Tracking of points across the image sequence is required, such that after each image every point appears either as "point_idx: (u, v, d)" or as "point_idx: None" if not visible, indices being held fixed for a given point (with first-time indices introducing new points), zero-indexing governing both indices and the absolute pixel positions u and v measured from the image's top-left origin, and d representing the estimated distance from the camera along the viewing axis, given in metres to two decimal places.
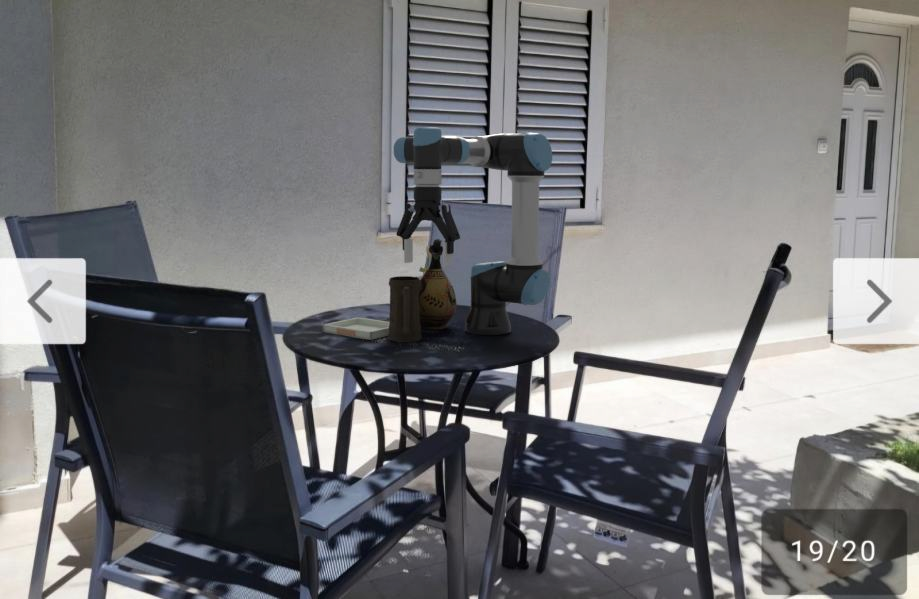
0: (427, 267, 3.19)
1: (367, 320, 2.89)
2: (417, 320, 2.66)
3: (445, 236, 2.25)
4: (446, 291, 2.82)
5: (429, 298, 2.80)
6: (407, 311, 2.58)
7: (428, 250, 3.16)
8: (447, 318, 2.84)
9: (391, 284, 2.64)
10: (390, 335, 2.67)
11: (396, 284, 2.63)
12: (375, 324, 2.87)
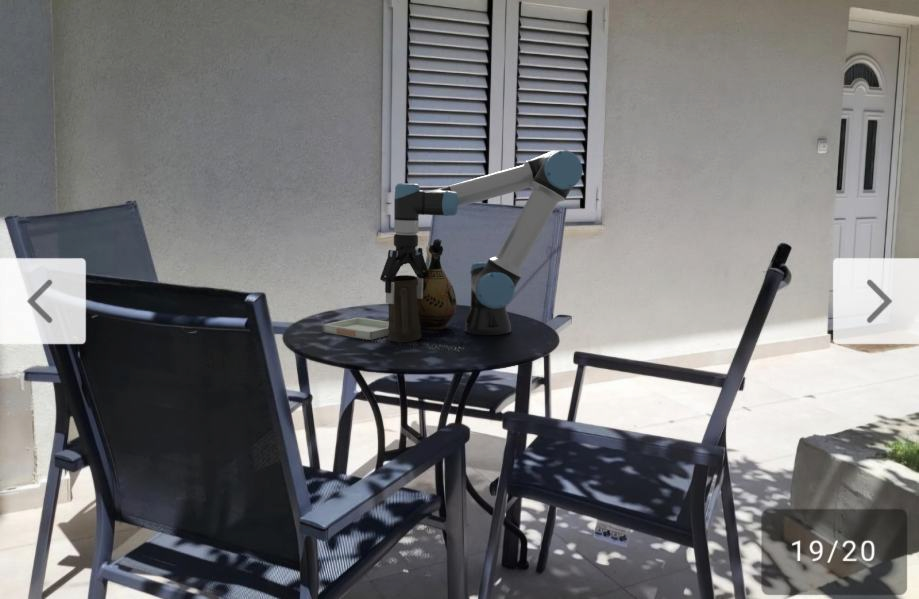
0: (427, 267, 3.19)
1: (367, 320, 2.89)
2: (416, 319, 2.66)
3: None
4: (446, 291, 2.82)
5: (429, 298, 2.80)
6: (405, 312, 2.58)
7: (428, 250, 3.16)
8: (447, 318, 2.84)
9: None
10: (390, 335, 2.67)
11: None
12: (375, 324, 2.87)
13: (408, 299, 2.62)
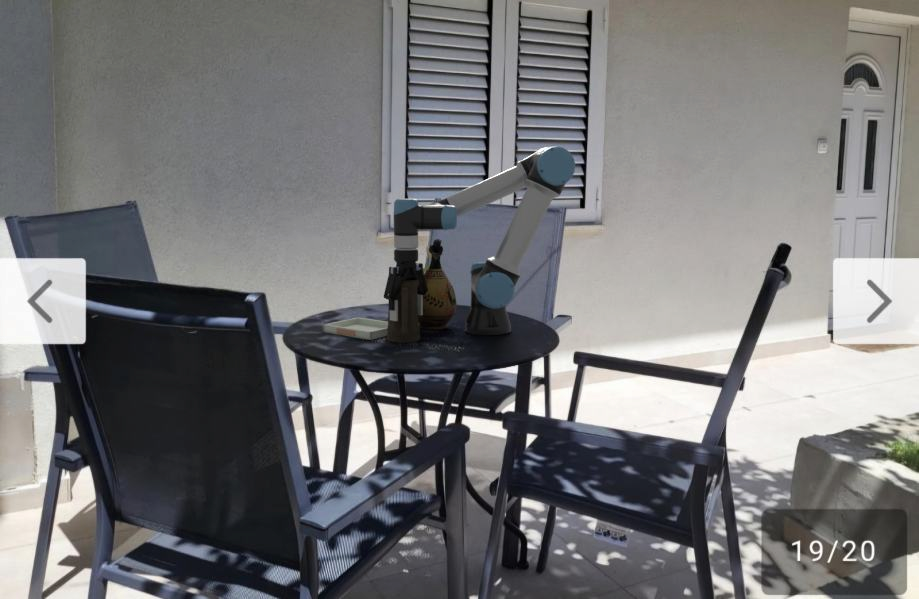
0: (427, 267, 3.19)
1: (367, 320, 2.89)
2: (416, 320, 2.66)
3: None
4: (446, 291, 2.82)
5: (429, 298, 2.80)
6: (405, 311, 2.58)
7: (428, 250, 3.16)
8: (447, 318, 2.84)
9: None
10: (388, 335, 2.66)
11: None
12: (375, 324, 2.87)
13: (408, 299, 2.62)
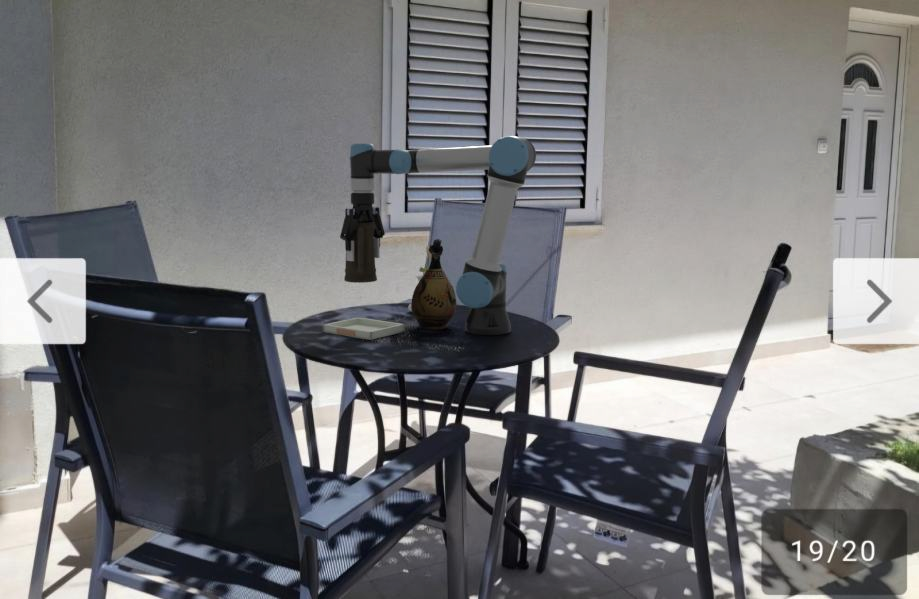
0: (427, 267, 3.19)
1: (367, 320, 2.89)
2: (372, 262, 2.76)
3: None
4: (446, 291, 2.82)
5: (429, 298, 2.80)
6: (361, 251, 2.68)
7: (428, 250, 3.16)
8: (447, 318, 2.84)
9: None
10: (346, 276, 2.76)
11: None
12: (375, 324, 2.87)
13: (365, 240, 2.73)
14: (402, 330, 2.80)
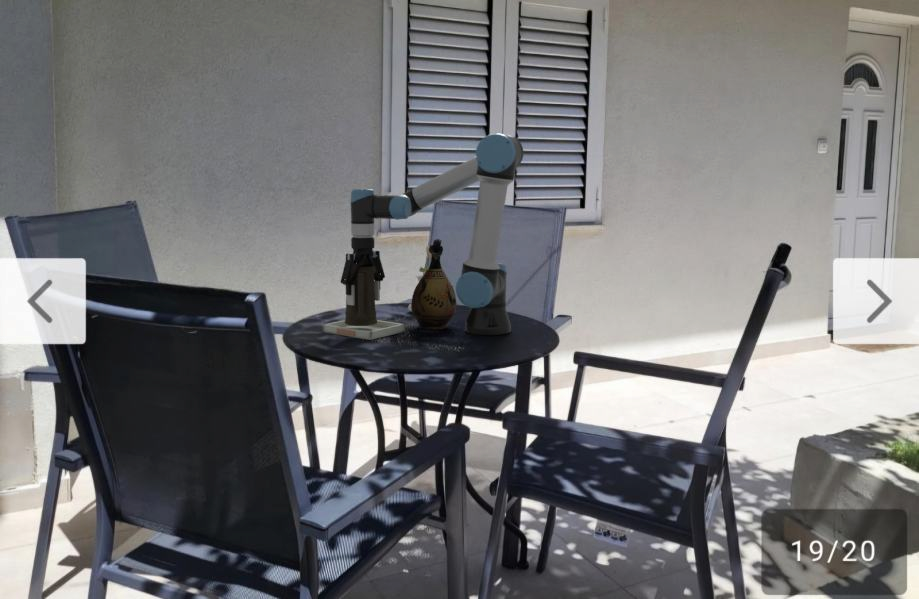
0: (427, 267, 3.19)
1: None
2: (372, 305, 2.78)
3: None
4: (446, 291, 2.82)
5: (429, 298, 2.80)
6: (361, 296, 2.70)
7: (428, 250, 3.16)
8: (447, 318, 2.84)
9: None
10: (346, 319, 2.79)
11: None
12: (375, 324, 2.87)
13: (365, 285, 2.75)
14: (402, 330, 2.80)
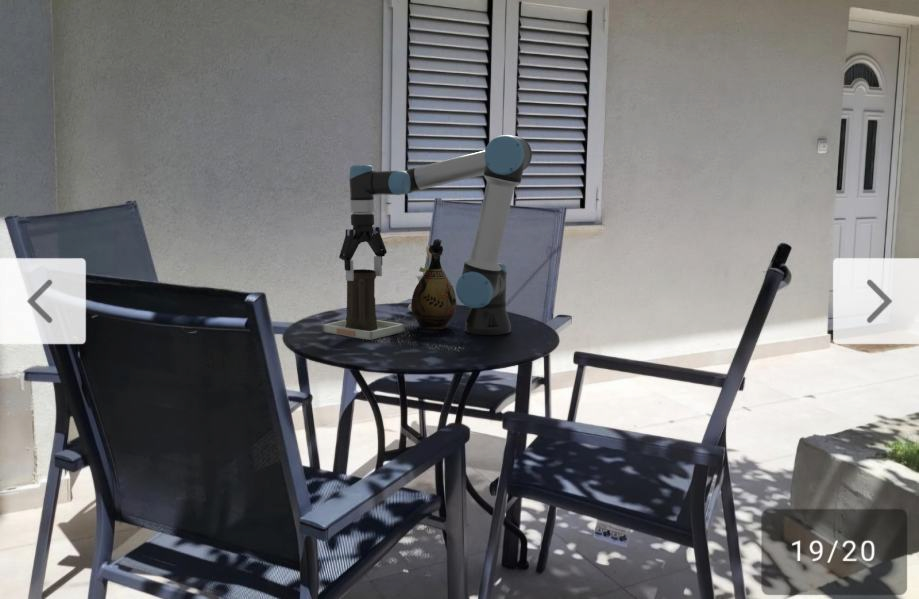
0: (427, 267, 3.19)
1: None
2: (373, 311, 2.79)
3: None
4: (446, 291, 2.82)
5: (429, 298, 2.80)
6: (362, 302, 2.70)
7: (428, 250, 3.16)
8: (447, 318, 2.84)
9: None
10: (347, 325, 2.79)
11: None
12: None
13: (366, 291, 2.75)
14: (402, 330, 2.80)
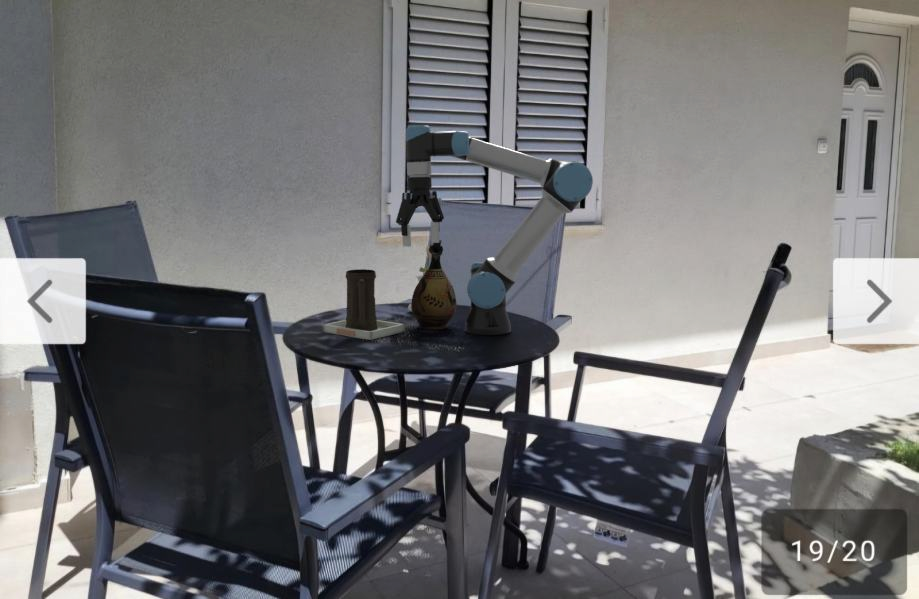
0: (427, 267, 3.19)
1: None
2: (373, 311, 2.79)
3: None
4: (446, 291, 2.82)
5: (429, 298, 2.80)
6: (362, 302, 2.70)
7: (428, 250, 3.16)
8: (447, 318, 2.84)
9: (347, 277, 2.76)
10: (347, 325, 2.79)
11: (352, 277, 2.75)
12: None
13: (366, 291, 2.75)
14: (402, 330, 2.80)
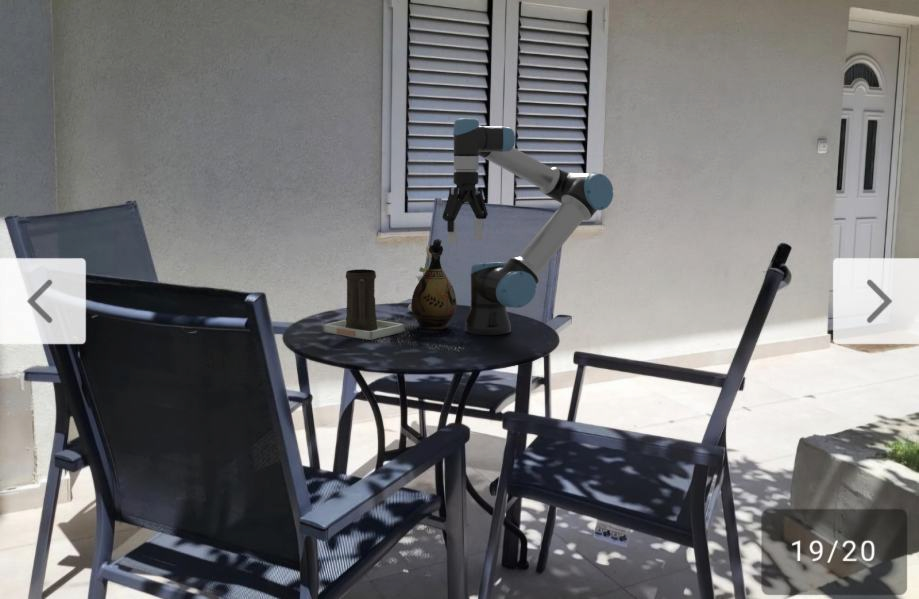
0: (427, 267, 3.19)
1: None
2: (373, 311, 2.79)
3: None
4: (446, 291, 2.82)
5: (429, 298, 2.80)
6: (362, 302, 2.70)
7: (428, 250, 3.16)
8: (447, 318, 2.84)
9: (347, 277, 2.76)
10: (347, 325, 2.79)
11: (352, 277, 2.75)
12: None
13: (366, 291, 2.75)
14: (402, 330, 2.80)
